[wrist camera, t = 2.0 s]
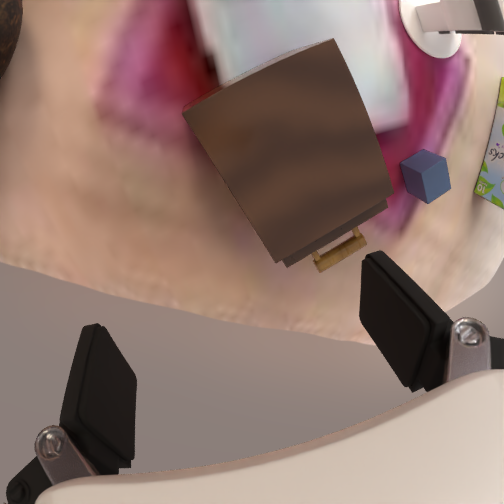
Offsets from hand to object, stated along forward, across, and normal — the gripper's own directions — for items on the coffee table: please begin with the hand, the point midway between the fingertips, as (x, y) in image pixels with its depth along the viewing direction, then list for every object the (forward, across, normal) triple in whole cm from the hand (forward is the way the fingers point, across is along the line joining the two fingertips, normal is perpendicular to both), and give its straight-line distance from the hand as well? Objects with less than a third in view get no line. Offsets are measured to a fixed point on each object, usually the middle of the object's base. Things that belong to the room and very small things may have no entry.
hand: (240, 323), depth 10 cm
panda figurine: (+24, -31, -16) cm, 42 cm away
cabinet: (+24, -8, -2) cm, 25 cm away
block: (+24, -27, +6) cm, 36 cm away
